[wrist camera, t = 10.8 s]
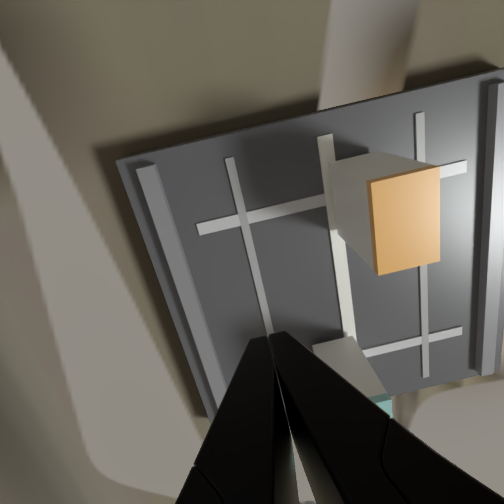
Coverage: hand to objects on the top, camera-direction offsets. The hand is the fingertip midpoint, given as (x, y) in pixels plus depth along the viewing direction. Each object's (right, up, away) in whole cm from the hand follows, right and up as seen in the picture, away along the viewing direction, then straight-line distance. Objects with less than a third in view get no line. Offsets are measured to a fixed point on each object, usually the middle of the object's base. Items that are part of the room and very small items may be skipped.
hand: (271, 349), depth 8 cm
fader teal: (+5, -4, +13) cm, 14 cm away
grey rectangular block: (+5, +5, +9) cm, 11 cm away
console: (+4, +1, +13) cm, 13 cm away
